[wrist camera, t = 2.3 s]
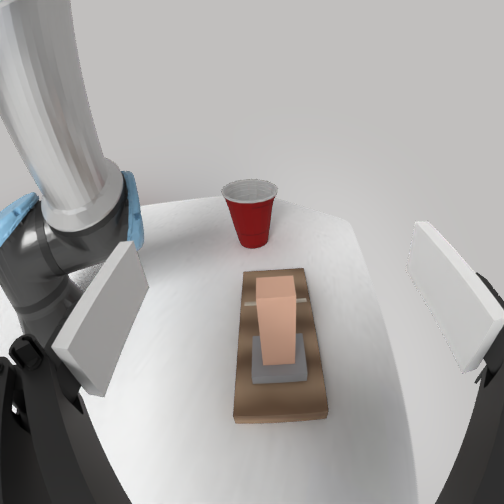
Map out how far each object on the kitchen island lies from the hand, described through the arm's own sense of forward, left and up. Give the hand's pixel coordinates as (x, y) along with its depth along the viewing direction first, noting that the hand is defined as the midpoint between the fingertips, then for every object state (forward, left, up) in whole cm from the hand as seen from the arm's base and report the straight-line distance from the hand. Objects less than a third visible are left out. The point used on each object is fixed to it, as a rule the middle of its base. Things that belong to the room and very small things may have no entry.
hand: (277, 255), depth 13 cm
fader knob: (-8, +6, -21) cm, 23 cm away
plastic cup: (-36, +22, -24) cm, 48 cm away
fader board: (-13, +9, -24) cm, 29 cm away
